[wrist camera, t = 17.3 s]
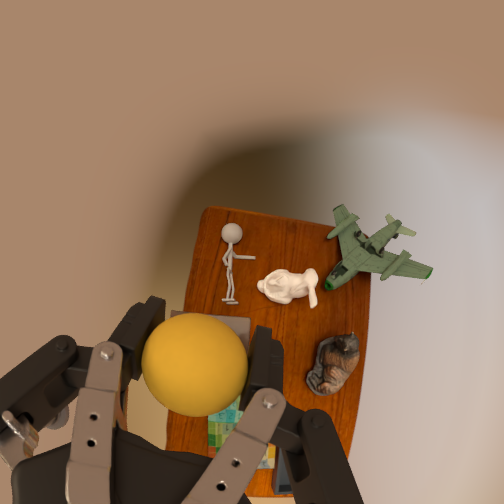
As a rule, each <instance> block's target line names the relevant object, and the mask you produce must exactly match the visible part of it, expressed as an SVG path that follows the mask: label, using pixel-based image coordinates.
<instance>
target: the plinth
mask: <svg viewBox="0 0 504 504" xmlns="http://www.w3.org/2000/svg"><path fill="white" fill-rule="evenodd" d="M187 313H192V312H182V311H174V310H172V311H171V317H174V316H177V315H181V314H187ZM199 314H201V313H199ZM205 315H208V316H212V317H214V318H216V319H218V320H220V321H222V322H224V323H225V324H226V325H228V326H229V327H230V328H231V329H232V330H233V331H234V332H235V333H236V334H237V336H238V337H239V338H240V340H241V342H242V343H243V346H244V348H245V351H246V354H248V350H249V340H250V324H251V318H248V317H235V316H223V315H211V314H205ZM171 317H170V318H171ZM240 395H241V394H240Z"/></svg>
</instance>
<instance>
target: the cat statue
mask: <svg viewBox="0 0 504 504" xmlns="http://www.w3.org/2000/svg"><path fill="white" fill-rule="evenodd" d="M358 347H359V340H358V338H357V336H356V335H354V334H353V332H351V334H350V335H346V334H344V335H340V336H335V337H330V338H327V339H325V340H323V341H322V342H320V344H319V346H318V349H317V356H316V364H315V365H314V368H313V370H312V371H310V372H308V374H307V379H306V382H307V384H308V386H309V387H310V389H311V390H312V391H313V392H314V393H315V394H317V395H322V396H325V395H329V394H334V393H336V392H337V391H339V390H340V388H341V387H342V386H343V384H344V382H345V381H346V379H347V378H348V377H349V375H350V374H351V373H352V371H353V370H354V369H355V367H356V365H357V363H358V361H359V356H360V353H359V350H358Z"/></svg>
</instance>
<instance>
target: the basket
mask: <svg viewBox="0 0 504 504" xmlns="http://www.w3.org/2000/svg"><path fill="white" fill-rule="evenodd" d="M271 486H272V489H273V492H274V495H280V494H293V492H292V488H291V485H290V481H289V478H288V474H287V470H286V466H285V463H284V459H283V455H282V451H281V448H279V447H277V446H276V449H275V465H274V468H273V476H272V485H271Z"/></svg>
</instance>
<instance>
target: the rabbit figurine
mask: <svg viewBox="0 0 504 504" xmlns="http://www.w3.org/2000/svg"><path fill="white" fill-rule="evenodd" d="M317 282H318V276H317V274H316V272H315V270H314V269H311V268H310V269H307V270H306V271H305V273H303V274H293V273H289V271H288V270H284V269H279V270H276V271H274V272H272V273H270V274H269V275H268V276H266V278H265V279H264V280H260V281H259V282H258V284H257V288H258V290H259V291H261V292H262V293H265V295H266V296H267V297H268V298H269V299H270V300H271V301H274V302H277V303H281V304H288V303H290V302H291V301H292V298H301V297H304V296H306V295H307V294H308V293H309V300H310V308H314V307H315V306H316V305H317V297H316V293H315V289H314V288H315V287H316V284H317Z"/></svg>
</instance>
